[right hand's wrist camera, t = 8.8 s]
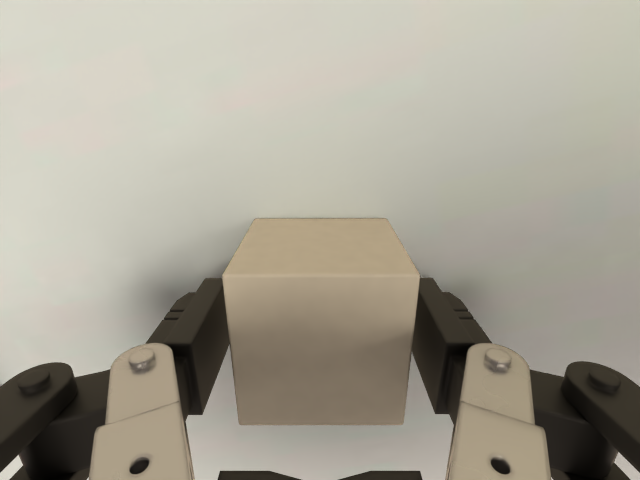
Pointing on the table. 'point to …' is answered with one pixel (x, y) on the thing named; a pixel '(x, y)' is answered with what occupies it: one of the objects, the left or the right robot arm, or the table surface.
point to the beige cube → (321, 322)
